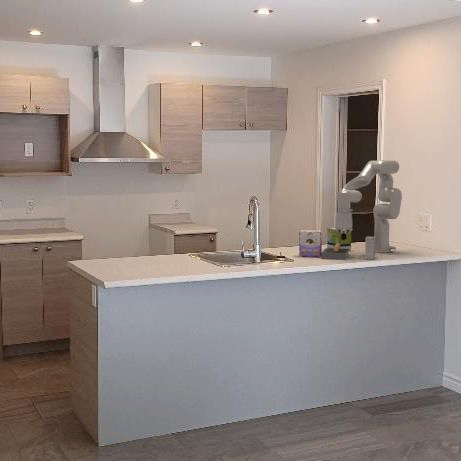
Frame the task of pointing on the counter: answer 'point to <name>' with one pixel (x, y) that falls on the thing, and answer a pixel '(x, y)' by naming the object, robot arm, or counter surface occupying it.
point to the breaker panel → (334, 254)
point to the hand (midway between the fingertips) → (343, 239)
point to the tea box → (338, 239)
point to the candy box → (310, 243)
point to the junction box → (369, 248)
